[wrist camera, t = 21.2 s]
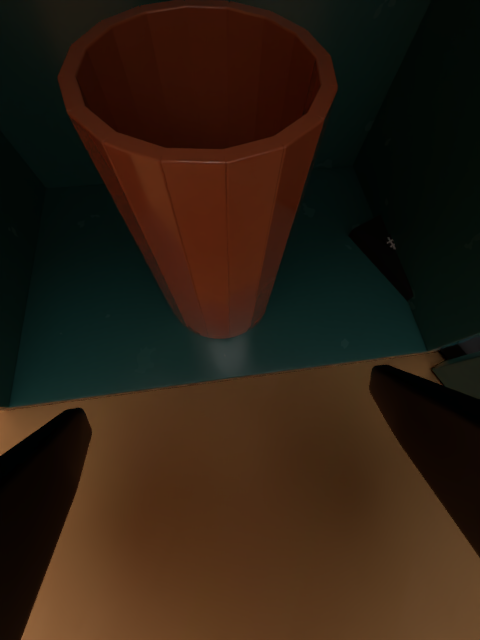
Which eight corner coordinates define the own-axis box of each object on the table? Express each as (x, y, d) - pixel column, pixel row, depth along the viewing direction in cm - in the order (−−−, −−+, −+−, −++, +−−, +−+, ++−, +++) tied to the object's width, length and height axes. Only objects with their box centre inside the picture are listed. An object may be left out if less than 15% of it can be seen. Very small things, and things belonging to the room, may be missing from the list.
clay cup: (218, 360, 17) (188, 217, 5) (150, 291, 18) (3, 57, 6) (289, 292, 18) (389, 72, 7) (221, 235, 20) (208, -23, 8)
